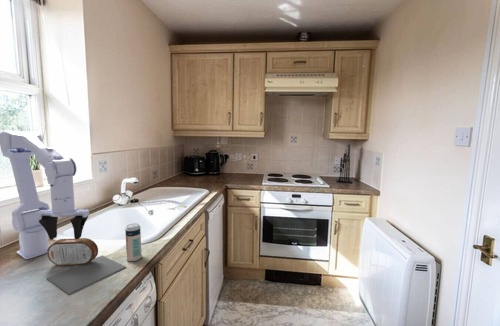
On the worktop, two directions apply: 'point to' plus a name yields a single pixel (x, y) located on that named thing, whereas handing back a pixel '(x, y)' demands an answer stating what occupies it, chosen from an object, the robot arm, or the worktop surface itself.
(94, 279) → the mat
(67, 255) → the tin
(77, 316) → the worktop surface
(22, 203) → the robot arm
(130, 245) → the beer can
